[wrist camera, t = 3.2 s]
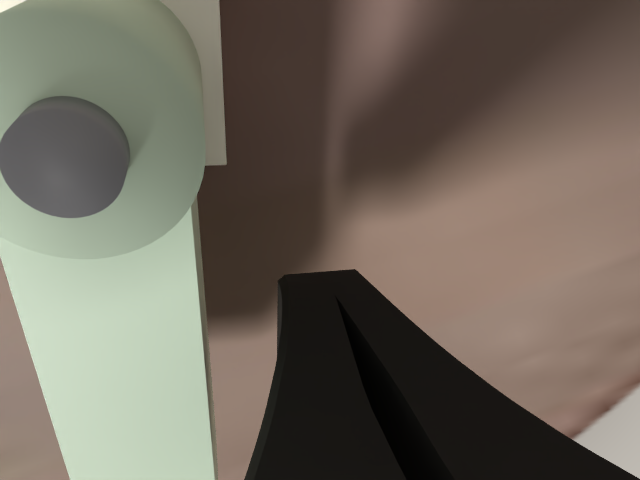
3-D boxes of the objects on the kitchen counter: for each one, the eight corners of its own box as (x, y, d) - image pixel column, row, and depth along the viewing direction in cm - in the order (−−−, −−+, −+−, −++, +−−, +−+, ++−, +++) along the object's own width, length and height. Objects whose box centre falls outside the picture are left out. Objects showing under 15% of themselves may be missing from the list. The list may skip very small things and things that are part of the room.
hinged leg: (-9, -26, 6) (-156, 12, 4) (195, -20, 7) (196, 20, 4) (107, 450, 11) (79, 623, 8) (225, 434, 11) (234, 593, 9)
